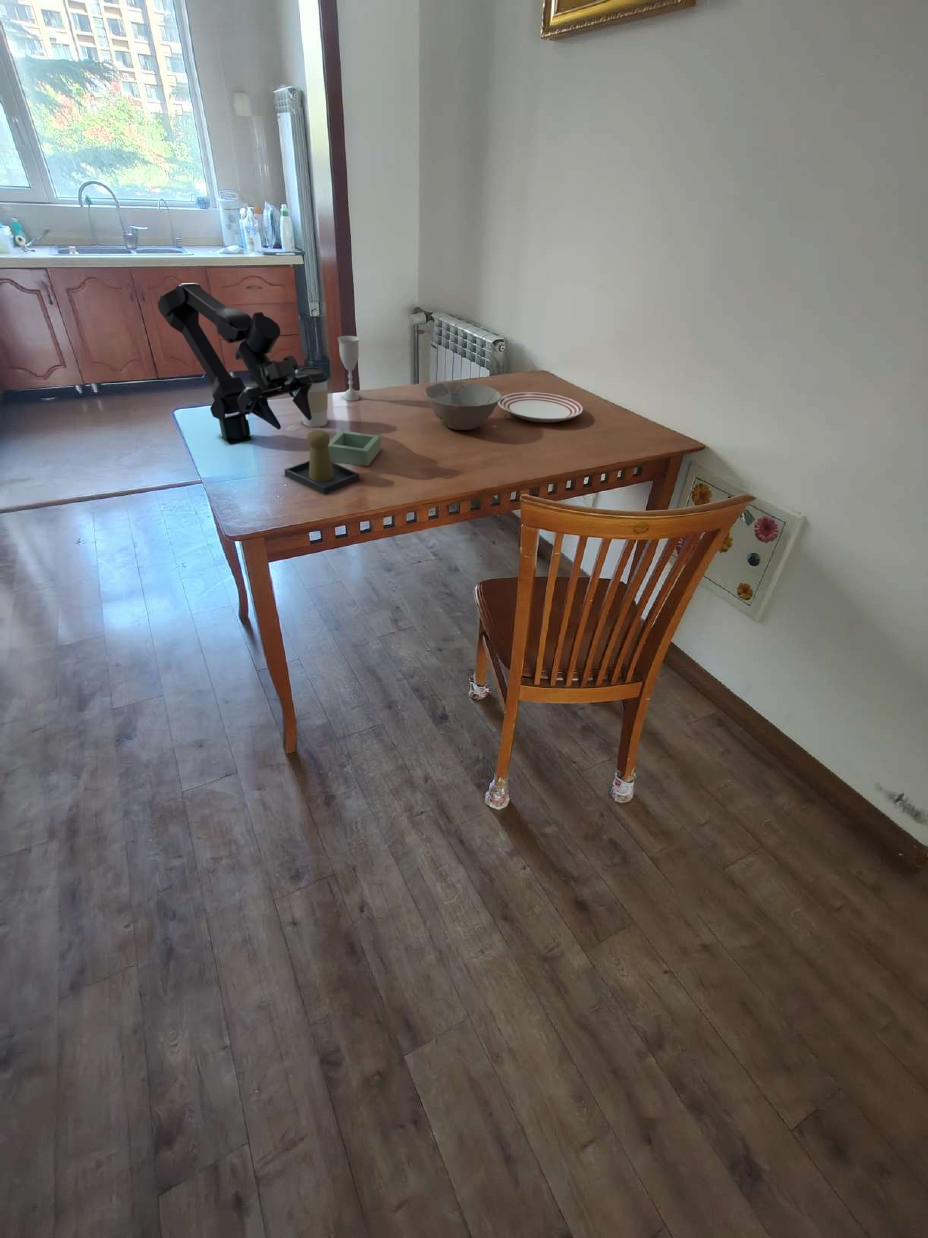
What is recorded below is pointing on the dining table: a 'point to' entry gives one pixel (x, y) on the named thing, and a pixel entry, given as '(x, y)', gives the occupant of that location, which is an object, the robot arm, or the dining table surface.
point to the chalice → (349, 361)
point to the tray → (338, 481)
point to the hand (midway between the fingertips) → (295, 423)
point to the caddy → (354, 448)
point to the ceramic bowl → (462, 403)
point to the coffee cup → (316, 396)
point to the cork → (319, 456)
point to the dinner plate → (540, 407)
